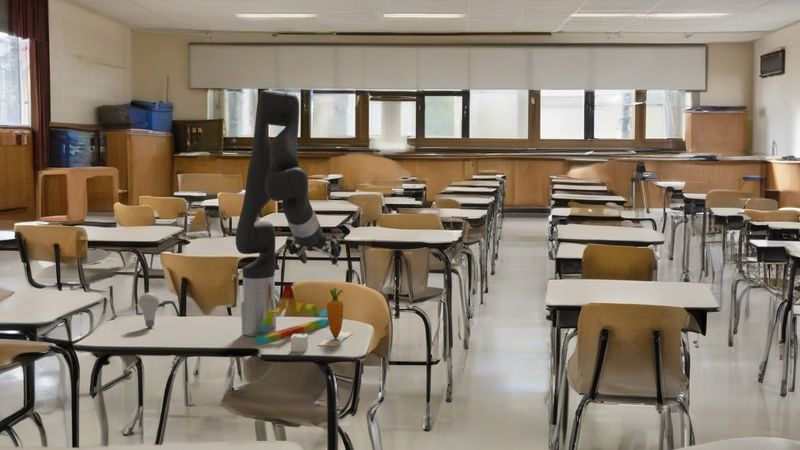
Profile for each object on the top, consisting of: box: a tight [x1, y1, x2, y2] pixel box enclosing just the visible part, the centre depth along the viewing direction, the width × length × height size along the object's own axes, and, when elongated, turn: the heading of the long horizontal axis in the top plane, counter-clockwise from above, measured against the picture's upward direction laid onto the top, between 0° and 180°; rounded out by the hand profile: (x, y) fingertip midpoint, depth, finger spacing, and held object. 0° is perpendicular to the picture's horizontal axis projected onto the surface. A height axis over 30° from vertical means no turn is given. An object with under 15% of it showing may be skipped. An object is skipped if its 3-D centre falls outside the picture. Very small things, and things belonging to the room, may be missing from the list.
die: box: [290, 333, 309, 352], centre depth 257 cm, size 4×4×4 cm
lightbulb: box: [138, 292, 160, 329], centre depth 287 cm, size 6×6×11 cm
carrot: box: [326, 287, 344, 339], centre depth 267 cm, size 5×5×15 cm
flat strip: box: [317, 331, 354, 347], centre depth 268 cm, size 5×16×1 cm, turn 165°
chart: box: [254, 284, 329, 345], centre depth 277 cm, size 30×3×15 cm, turn 145°
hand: (320, 261), depth 255 cm, fingers open, 8 cm apart
